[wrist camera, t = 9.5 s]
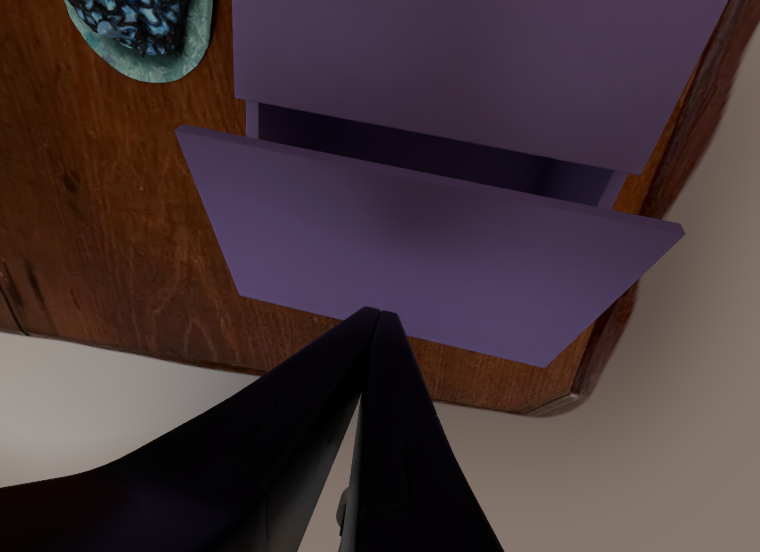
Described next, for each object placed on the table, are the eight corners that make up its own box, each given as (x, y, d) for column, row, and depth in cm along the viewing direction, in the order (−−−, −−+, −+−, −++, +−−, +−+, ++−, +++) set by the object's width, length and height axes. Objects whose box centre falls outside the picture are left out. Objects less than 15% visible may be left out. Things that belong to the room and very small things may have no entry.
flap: (544, 359, 14) (544, 368, 14) (243, 288, 15) (239, 295, 15) (680, 223, 8) (687, 234, 8) (182, 123, 9) (173, 130, 9)
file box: (510, 278, 21) (546, 368, 14) (307, 233, 22) (238, 294, 15) (632, -39, 14) (831, -200, 7) (330, -83, 15) (222, -263, 8)
